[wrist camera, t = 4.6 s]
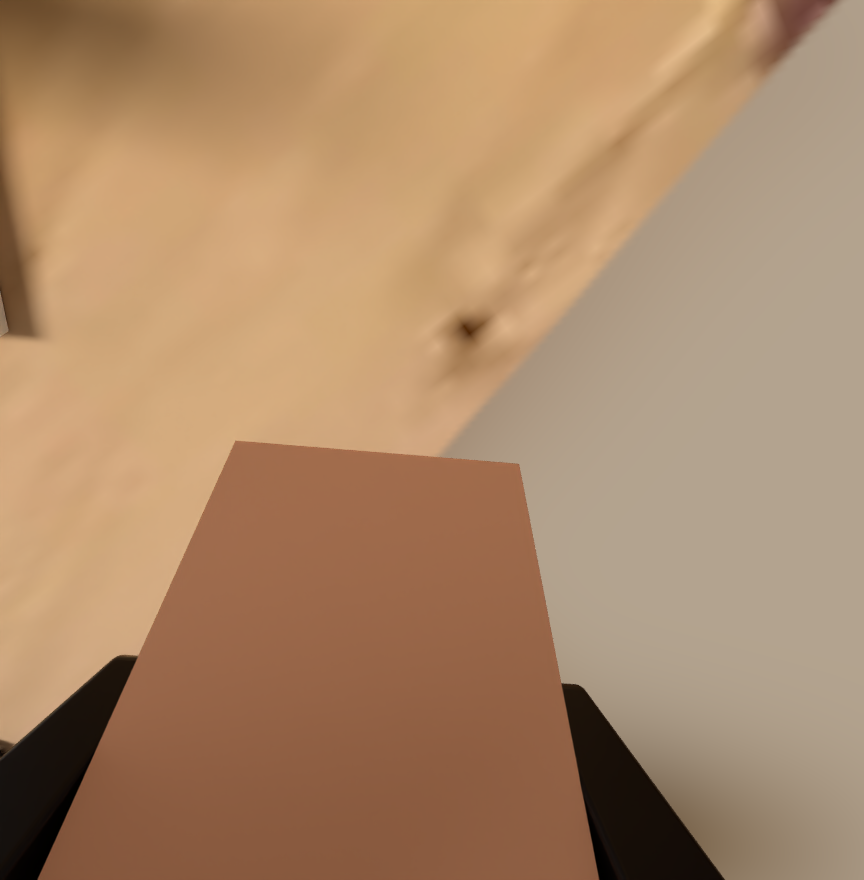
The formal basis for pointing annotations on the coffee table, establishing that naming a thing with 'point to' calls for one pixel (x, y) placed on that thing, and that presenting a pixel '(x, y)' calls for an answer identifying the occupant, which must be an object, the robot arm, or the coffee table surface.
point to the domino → (342, 689)
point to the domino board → (2, 319)
